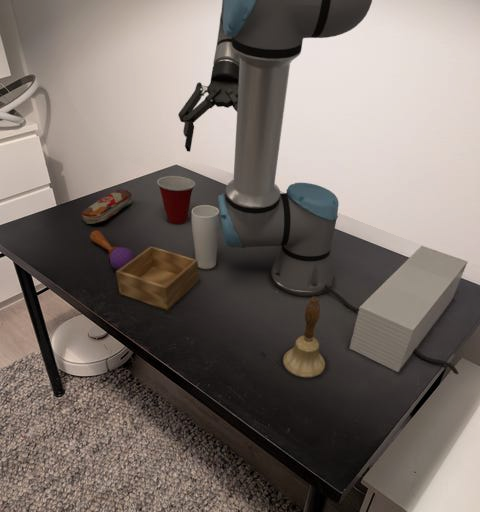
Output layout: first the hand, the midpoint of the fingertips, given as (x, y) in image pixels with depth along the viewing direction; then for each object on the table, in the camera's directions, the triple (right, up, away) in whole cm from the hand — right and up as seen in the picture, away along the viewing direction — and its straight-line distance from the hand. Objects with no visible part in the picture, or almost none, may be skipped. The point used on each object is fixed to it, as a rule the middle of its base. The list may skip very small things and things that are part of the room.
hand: (214, 151), depth 109 cm
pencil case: (-34, -8, +29) cm, 45 cm away
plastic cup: (-13, -11, +27) cm, 32 cm away
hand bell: (+19, -49, -19) cm, 56 cm away
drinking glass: (-3, -26, +8) cm, 28 cm away
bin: (-13, -33, -1) cm, 35 cm away
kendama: (-27, -24, +9) cm, 38 cm away
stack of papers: (+43, -41, -8) cm, 60 cm away
